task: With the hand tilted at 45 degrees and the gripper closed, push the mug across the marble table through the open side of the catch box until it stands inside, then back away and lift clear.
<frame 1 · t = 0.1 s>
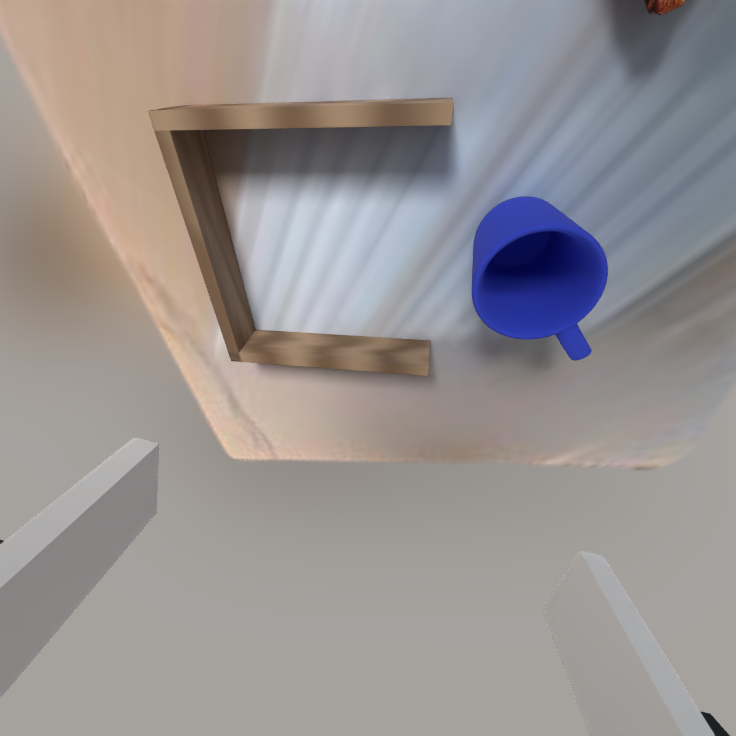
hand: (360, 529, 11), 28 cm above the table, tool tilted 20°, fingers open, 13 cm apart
mug: (524, 251, 33), on the table
catch box: (331, 247, 35), on the table
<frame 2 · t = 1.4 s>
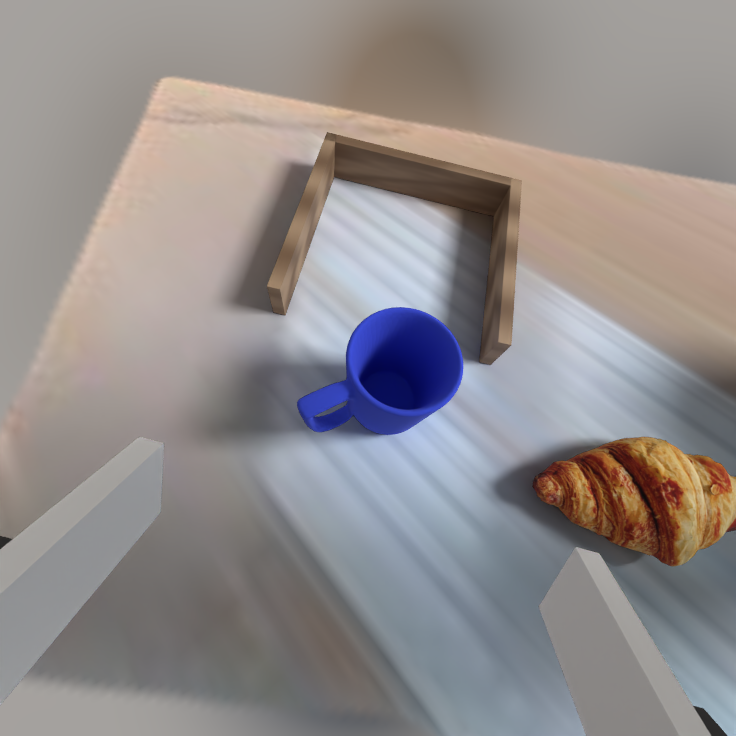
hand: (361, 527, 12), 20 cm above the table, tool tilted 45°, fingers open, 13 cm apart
mug: (366, 410, 34), on the table
croissant: (630, 499, 34), on the table
catch box: (399, 260, 41), on the table
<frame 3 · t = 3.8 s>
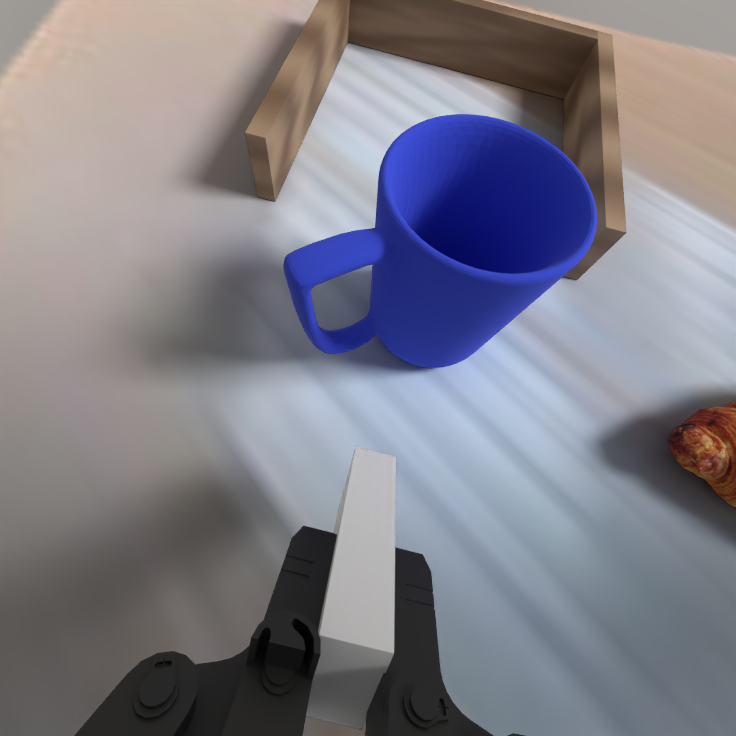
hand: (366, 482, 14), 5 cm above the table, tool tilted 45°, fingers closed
mug: (395, 335, 22), on the table
catch box: (439, 143, 29), on the table
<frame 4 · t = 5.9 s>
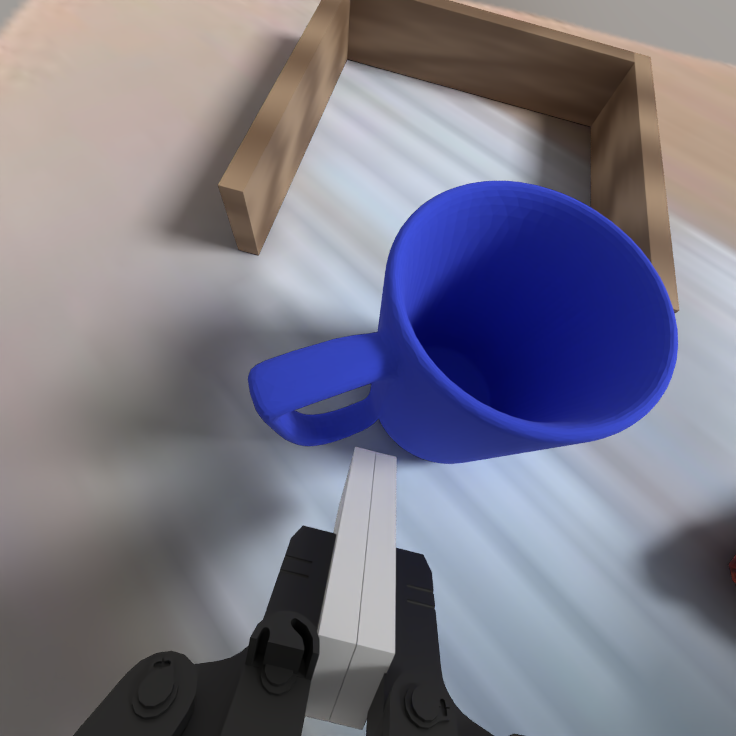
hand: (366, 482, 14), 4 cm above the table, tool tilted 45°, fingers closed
mug: (399, 412, 19), on the table, touching gripper
catch box: (451, 180, 25), on the table
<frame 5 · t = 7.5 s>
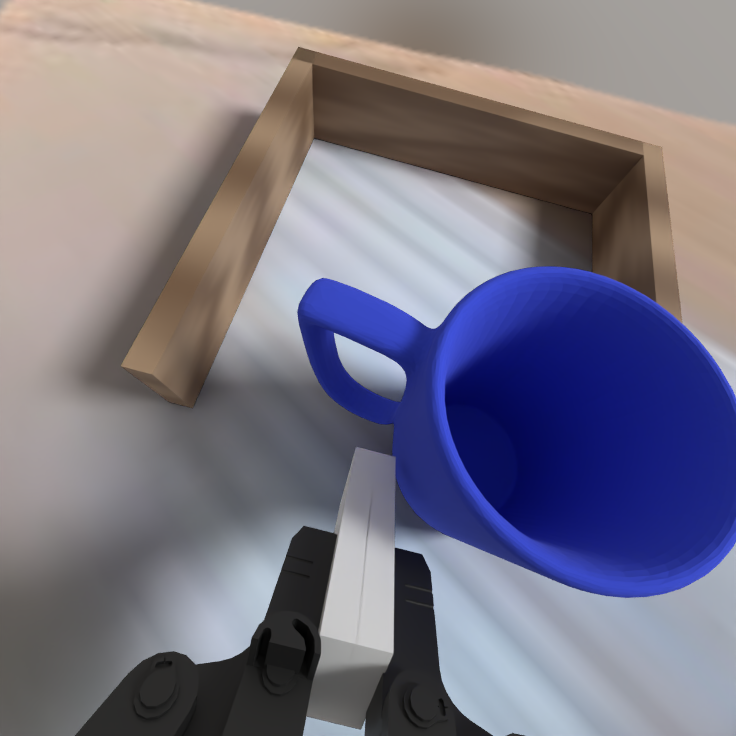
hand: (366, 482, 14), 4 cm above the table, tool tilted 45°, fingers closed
mug: (420, 444, 18), on the table, touching gripper
catch box: (429, 293, 22), on the table
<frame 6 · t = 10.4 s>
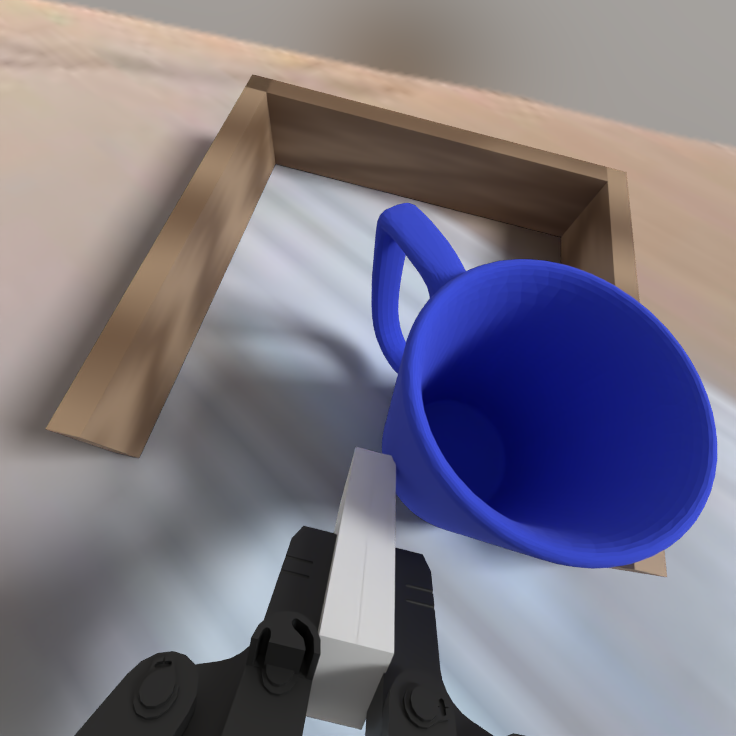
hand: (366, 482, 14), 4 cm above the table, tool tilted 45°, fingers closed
mug: (424, 423, 19), on the table
catch box: (392, 325, 21), on the table
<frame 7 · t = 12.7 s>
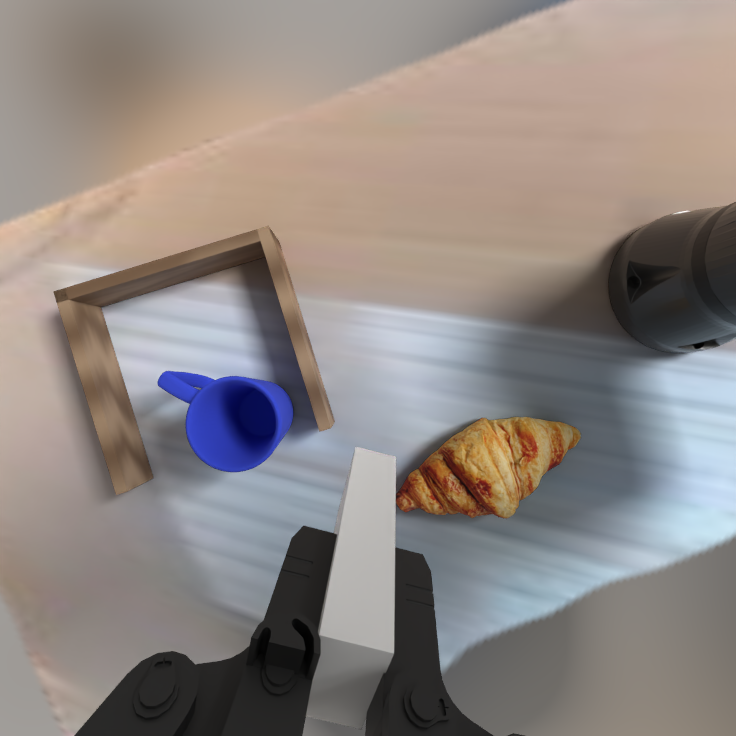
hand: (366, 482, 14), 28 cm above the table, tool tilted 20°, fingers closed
mug: (250, 402, 42), on the table
croissant: (482, 463, 42), on the table
catch box: (212, 366, 41), on the table
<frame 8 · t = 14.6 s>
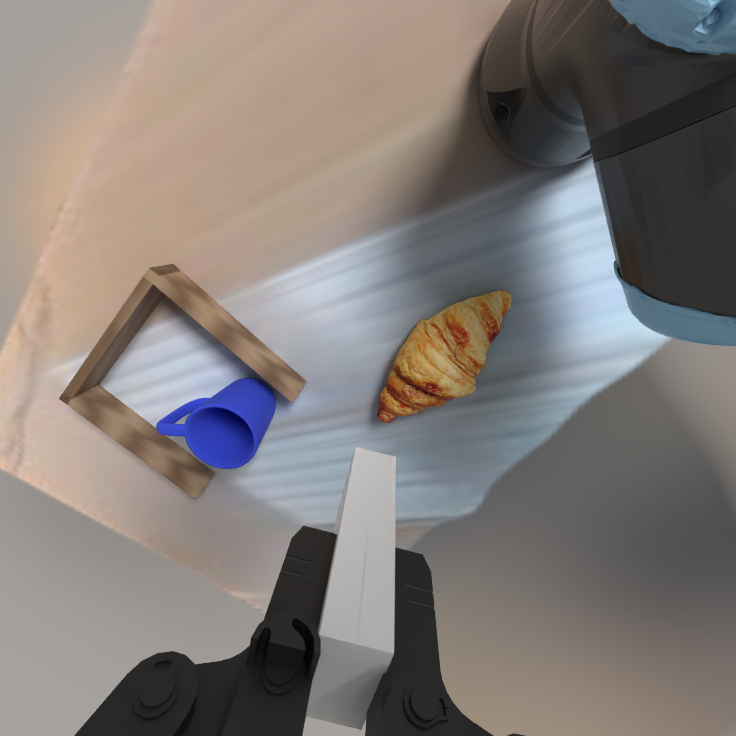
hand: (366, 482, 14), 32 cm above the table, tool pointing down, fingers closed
mug: (240, 397, 50), on the table
croissant: (439, 354, 46), on the table
catch box: (197, 385, 50), on the table
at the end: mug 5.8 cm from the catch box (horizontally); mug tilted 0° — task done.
